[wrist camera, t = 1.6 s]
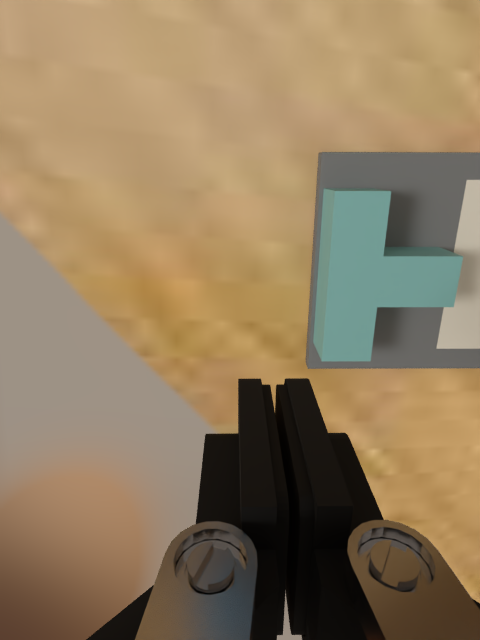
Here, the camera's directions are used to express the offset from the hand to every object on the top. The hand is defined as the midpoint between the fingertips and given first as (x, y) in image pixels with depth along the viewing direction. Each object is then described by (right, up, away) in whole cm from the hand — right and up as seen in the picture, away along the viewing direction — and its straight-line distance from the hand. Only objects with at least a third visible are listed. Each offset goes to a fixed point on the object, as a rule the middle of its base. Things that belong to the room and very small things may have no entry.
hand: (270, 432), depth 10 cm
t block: (+8, +6, +16) cm, 19 cm away
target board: (+13, +6, +17) cm, 23 cm away
